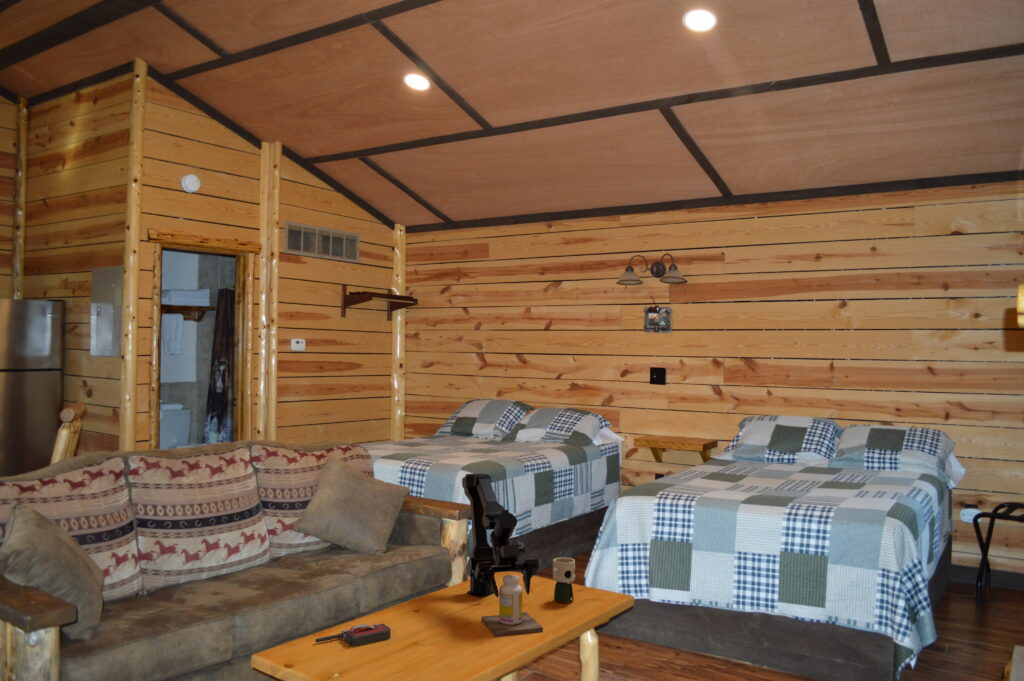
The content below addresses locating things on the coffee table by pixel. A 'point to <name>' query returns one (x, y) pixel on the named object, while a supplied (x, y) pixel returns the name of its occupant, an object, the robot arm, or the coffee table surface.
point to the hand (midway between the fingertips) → (513, 595)
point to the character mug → (563, 578)
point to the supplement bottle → (510, 601)
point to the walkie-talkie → (362, 634)
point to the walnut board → (511, 626)
